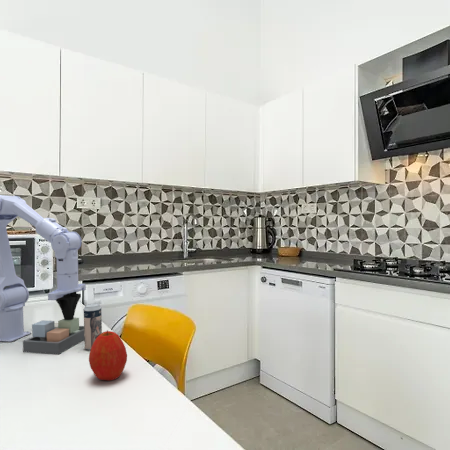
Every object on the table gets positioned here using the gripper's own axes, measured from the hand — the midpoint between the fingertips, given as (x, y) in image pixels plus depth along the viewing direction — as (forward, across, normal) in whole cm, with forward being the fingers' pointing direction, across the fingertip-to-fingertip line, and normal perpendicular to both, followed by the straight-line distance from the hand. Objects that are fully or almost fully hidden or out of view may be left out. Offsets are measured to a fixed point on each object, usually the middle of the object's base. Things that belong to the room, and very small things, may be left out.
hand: (68, 319), depth 102 cm
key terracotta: (+5, -5, 0) cm, 7 cm away
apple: (+7, -19, -24) cm, 31 cm away
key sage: (+3, 0, 0) cm, 3 cm away
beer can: (+7, -3, -10) cm, 12 cm away
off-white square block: (+5, 0, +5) cm, 7 cm away
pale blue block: (+3, -5, +5) cm, 7 cm away
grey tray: (+7, -1, +2) cm, 7 cm away
